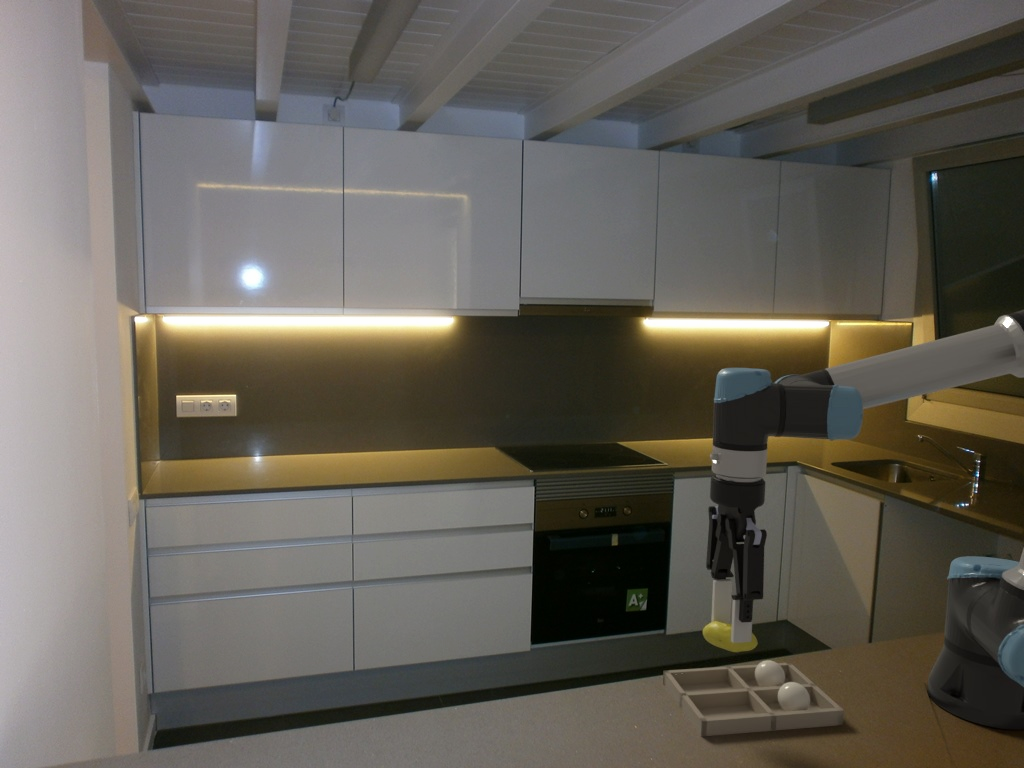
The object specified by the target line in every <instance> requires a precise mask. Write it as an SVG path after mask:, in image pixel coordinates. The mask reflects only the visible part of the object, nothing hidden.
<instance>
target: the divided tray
mask: <svg viewBox="0 0 1024 768" xmlns="http://www.w3.org/2000/svg"><path fill="white" fill-rule="evenodd" d="M778 664H779V665H780V666H781V667H782V669H783V670H784V673H785V682H784V684H785V683H788V682H796V683H799V684H801V685H802V686H803V687H805V689H806V690H807V691H808V693H809V696H810V706H809V708H808V710H800V711H787V712H786V711H784V710H783V709H782V707H781V706H780V704H779V702H778V691H779V689H780V687H781V686H773V687H760V686H759V684H758V683H757V681H756V679H755V669H756V667H757V665H758V664H747V665H733V666H732V665H730V666H716V667H714V666H713V667H702V668H701V667H700V668H699V667H698V668H687V669H686V668H685V669H683V668H682V669H669V670H663V673H662V674H663V675H662V685H663V686H664V688H665V690H667V692H668V693H669V694H670V696H671V697H672V699H673V701H675V703H676V704H677V706H678V707H679V708H680V710H681V711H682V713H683V714H684V715H685V716H686V718H687V719H688V720H689V722H690V723H691V725H692V727H694V729H695V730H696V731H697V733H698V734H699V735H700V737H711V736H725V735H734V734H735V735H737V734H745V733H747V734H748V733H759V732H769V731H770V732H772V731H773V732H774V731H782V730H783V731H785V730H796V729H806V728H807V729H808V728H809V729H810V728H811V729H812V728H820V727H832V726H843V725H844V714H845V713H844V712H845V710H844V709H843V708H842V707H841V706H840V705H839V704H838V703H836V702H835V701H834V700H833V699H832V698H831V697H830V696H829V695H827V694H826V693H825V692H824V691H823V690H822V689H821V688H820V687H818V686H817V685H816V684H815V683H814V682H813V681H811V679H809V678H808V676H806V675H805V674H804V673H802V672H801V670H799V669H798V668H797V667H796V666H795V665H794V664H792V663H791V662H778ZM694 671H695V672H694ZM681 673H683V674H681ZM675 674H677V675H675Z"/></svg>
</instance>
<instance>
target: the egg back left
mask: <svg viewBox="0 0 1024 768" xmlns="http://www.w3.org/2000/svg"><path fill="white" fill-rule="evenodd" d="M778 702H779V704H780V706H781V707H782V709H783V710H784V711H786V712H787V711H800V710H808V708H809V706H810V696H809V693H808V691H807V690H806V689H805V687H803V686H802V685H801V684H799V683H796V682H788V683H785V684H783V685H782V686H781V687H780V689H779V691H778Z"/></svg>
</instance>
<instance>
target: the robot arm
mask: <svg viewBox="0 0 1024 768" xmlns="http://www.w3.org/2000/svg"><path fill="white" fill-rule="evenodd" d="M1005 375H1013V376H1015V377H1016V378H1020V379H1021V378H1024V309H1022V310H1018V311H1015V312H1011V313H1007V314H1004V315H1000V316H999V317H998V318H997V320H996V321H995V322H994V324H993V325H989V326H984V327H981V328H978V329H973V330H970V331H967V332H966V331H965V332H962V333H958V334H955V335H950V336H947V337H946V336H945V337H942V338H939V339H935V340H932V341H928V342H924V343H919V344H916V345H911V346H908V347H904V348H900V349H897V350H896V349H895V350H892V351H889V352H885V353H881V354H877V355H873V356H869V357H864V358H861V359H857V360H854V361H849V362H845V363H843V364H838V365H835V366H830V367H826V368H824V369H820V370H815V371H811V372H807V373H804V374H796V373H794V374H788V375H785V376H781V377H780V378H778V379H776V381H774V382H773V379H772V374H771V372H770V371H769V370H767V369H763V368H749V367H725V368H722V369H721V370H720V371H718V373H717V375H716V380H715V389H714V398H713V421H712V423H713V424H712V425H713V426H712V430H713V431H712V451H711V453H710V454H709V458H710V460H711V471H712V473H713V475H712V476H711V477H710V486H709V487H710V488H709V489H710V491H709V492H710V493H709V498H710V500H711V502H712V503H714V504H716V506H715V505H714V506H713V505H712V506H709V507H708V522H709V523H708V535H707V547H706V548H707V549H706V550H707V551H706V562H705V564H706V565H705V567H706V569H707V570H708V571H710V575H711V578H712V597H711V622H713V621H718V622H722V623H727V624H728V623H729V624H732V627H731V641H732V642H733V643H741V642H751V634H752V633H753V632H752V630H753V613H754V612H753V611H754V609H753V608H754V602H755V601H757V600H758V601H759V600H763V599H764V586H765V585H764V584H765V583H764V578H765V576H764V575H765V545H766V540H767V536H768V533H767V530H766V529H759V528H758V526H757V525H756V524H757V520H756V519H757V518H756V514H755V510H756V509H757V508H759V507H762V506H763V505H764V504H765V500H766V499H765V497H766V495H765V494H766V481H765V479H764V478H763V477H765V476H766V475H767V462H768V461H767V460H768V440H769V437H774V438H775V437H776V438H781V437H782V438H783V437H784V438H798V439H799V438H801V439H814V440H815V439H816V440H829V441H835V440H853V439H855V438H856V437H858V435H859V434H860V433H861V429H862V425H863V418H864V410H865V409H870V408H874V407H879V406H883V405H887V404H891V403H895V402H898V401H902V400H907V399H911V398H916V397H919V396H922V395H923V396H924V395H928V394H932V393H936V392H940V391H943V390H948V389H952V388H955V387H956V388H957V387H959V386H965V385H968V384H972V383H977V382H980V381H984V380H988V379H994V378H997V377H1001V376H1005ZM732 564H733V566H732ZM732 567H733V568H734V569H733V570H734V573H733V572H732V571H731V570H732ZM731 578H734V580H735V594H733V580H732V579H731ZM946 579H947V593H946V604H945V605H946V607H945V622H944V634H943V635H944V639H943V646H942V648H941V650H940V653H939V654H938V657H937V659H936V661H935V663H934V664H933V667H932V669H931V670H930V672H929V674H928V680H927V694H928V696H929V697H930V699H931V700H932V701H933V702H934V704H935V705H937V706H939V707H940V708H942V709H943V710H945V711H946V712H948V713H950V714H952V715H954V716H956V717H959V718H961V719H963V720H967V721H969V722H971V723H974V724H977V725H978V724H979V725H982V726H985V727H991V728H994V729H995V728H996V729H1003V730H1014V731H1015V730H1019V731H1020V730H1024V547H1023V548H1022V553H1021V555H1020V560H1019V561H1015V560H1011V559H1004V558H997V557H990V556H989V557H988V556H979V555H978V556H975V555H972V556H971V555H970V556H969V555H967V556H959V557H956V558H954V559H953V560H952V561H951V562H950V566H949V572H948V576H947V577H946ZM732 594H733V595H732ZM711 622H710V623H711Z"/></svg>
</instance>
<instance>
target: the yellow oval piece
mask: <svg viewBox="0 0 1024 768" xmlns="http://www.w3.org/2000/svg"><path fill="white" fill-rule="evenodd" d="M731 627H732V623H722V622H718V621H713V622H709V623H708V624H706V625H705V626H704V627H703V628H702V636H703V638H704V639H705V640H706V641H707V643H709V644H710V645H713V646H715V647H717V648H719V649H723V650H726V651H729V652H731V653H740V652H749V651H752V650H754V649H756V647H757V646H758V644H759V643H758V638H757V637H756V636H755V634H754V633H753V632H752V634H751V642H741V643H733V642H732V641H731Z"/></svg>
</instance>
